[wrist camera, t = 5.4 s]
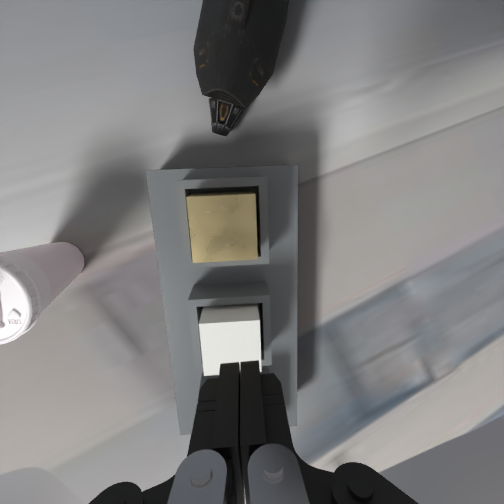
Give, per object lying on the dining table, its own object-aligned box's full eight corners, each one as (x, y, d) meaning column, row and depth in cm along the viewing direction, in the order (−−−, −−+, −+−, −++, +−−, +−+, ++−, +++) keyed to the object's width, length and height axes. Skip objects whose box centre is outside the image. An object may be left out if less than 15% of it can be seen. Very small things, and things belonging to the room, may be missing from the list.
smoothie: (77, 217, 27) (-80, 262, 14) (110, 277, 29) (1, 369, 15) (16, 242, 27) (-197, 310, 14) (52, 299, 29) (-105, 410, 16)
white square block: (256, 301, 24) (259, 320, 21) (258, 347, 25) (261, 371, 22) (203, 304, 24) (198, 323, 21) (207, 350, 25) (203, 375, 22)
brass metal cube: (252, 190, 22) (255, 194, 19) (254, 247, 23) (257, 259, 20) (193, 193, 21) (186, 196, 18) (198, 250, 23) (192, 262, 19)
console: (288, 165, 27) (306, 163, 20) (289, 396, 34) (303, 452, 27) (158, 170, 26) (132, 170, 20) (186, 404, 33) (174, 463, 27)
